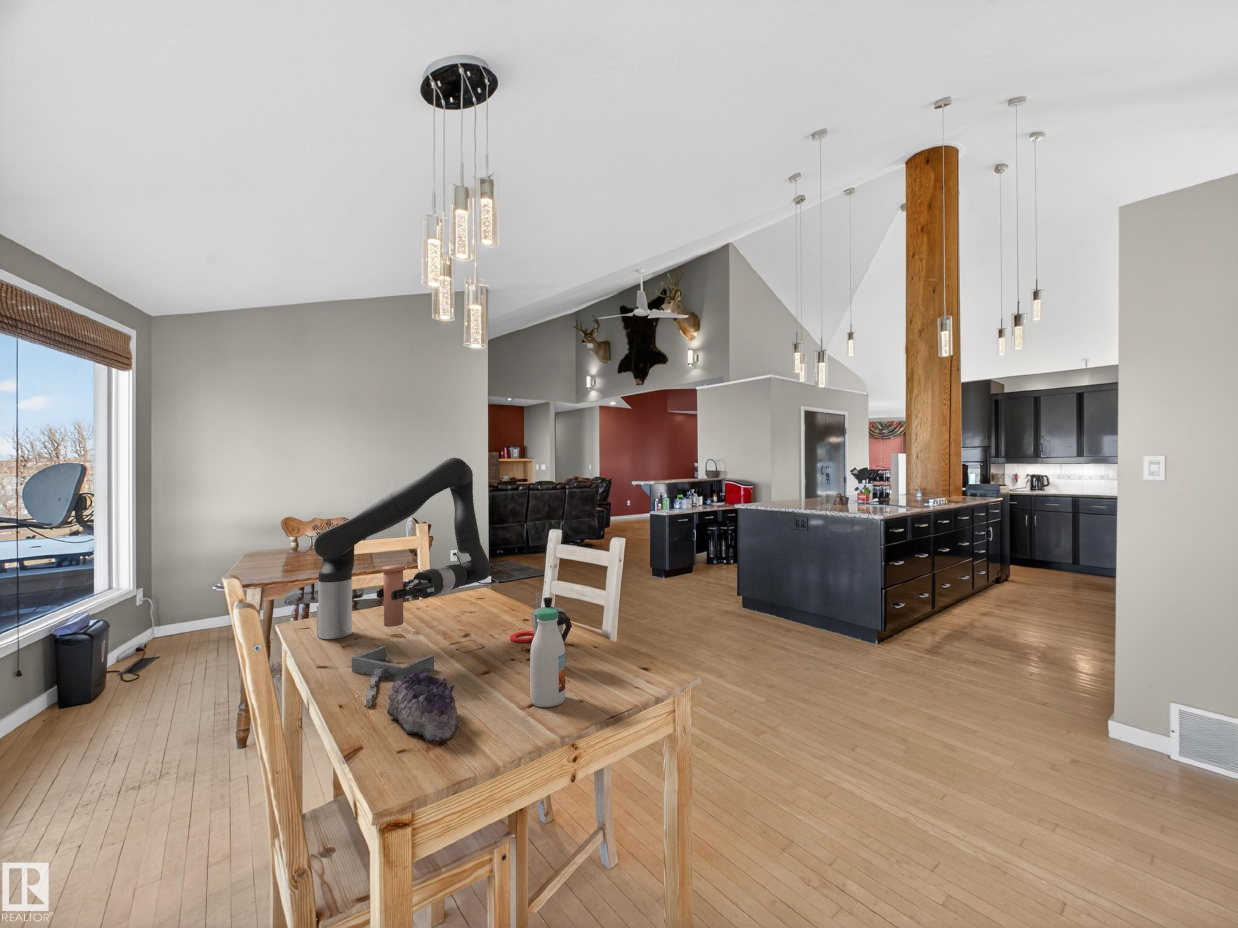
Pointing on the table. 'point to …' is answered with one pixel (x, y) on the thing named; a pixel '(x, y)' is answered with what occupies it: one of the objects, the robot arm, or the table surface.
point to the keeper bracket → (388, 665)
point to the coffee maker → (561, 620)
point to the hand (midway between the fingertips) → (385, 595)
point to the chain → (371, 690)
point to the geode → (424, 707)
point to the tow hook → (520, 640)
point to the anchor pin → (391, 583)
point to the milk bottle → (547, 662)
